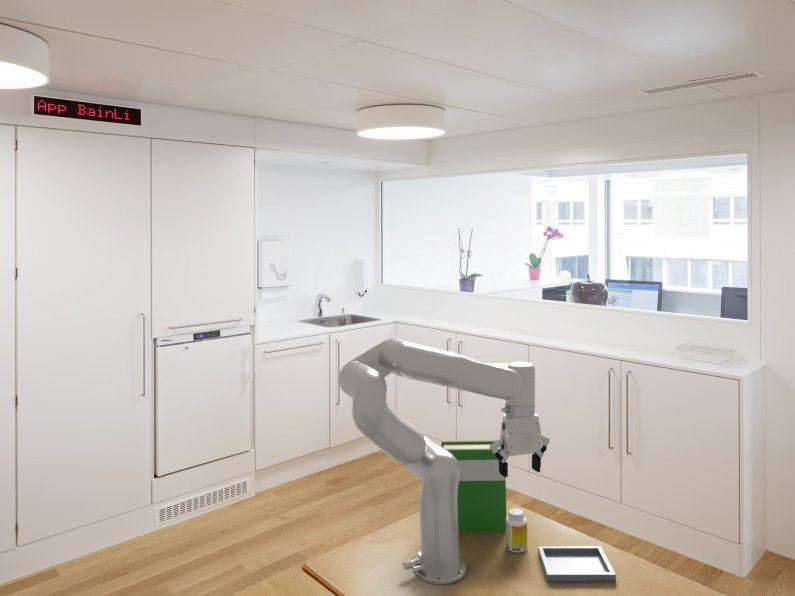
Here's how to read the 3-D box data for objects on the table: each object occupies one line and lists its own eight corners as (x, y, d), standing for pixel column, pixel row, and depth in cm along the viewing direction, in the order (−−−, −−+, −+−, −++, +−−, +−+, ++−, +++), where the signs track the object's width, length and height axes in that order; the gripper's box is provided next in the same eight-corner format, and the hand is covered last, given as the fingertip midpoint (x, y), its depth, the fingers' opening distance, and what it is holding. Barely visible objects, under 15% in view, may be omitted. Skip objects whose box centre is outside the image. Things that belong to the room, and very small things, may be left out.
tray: (547, 582, 142) (547, 574, 142) (538, 553, 155) (538, 546, 154) (615, 582, 141) (615, 574, 141) (600, 553, 154) (600, 546, 153)
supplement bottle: (531, 548, 157) (531, 511, 156) (518, 556, 154) (517, 518, 153) (515, 540, 162) (514, 504, 161) (501, 548, 158) (501, 511, 157)
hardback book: (444, 531, 168) (441, 450, 166) (443, 519, 176) (441, 441, 173) (506, 531, 167) (504, 449, 164) (503, 519, 174) (502, 440, 172)
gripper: (497, 417, 148) (497, 483, 150) (556, 409, 154) (556, 473, 155) (483, 409, 155) (483, 472, 157) (541, 402, 161) (540, 463, 162)
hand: (519, 473), depth 156 cm, fingers open, 9 cm apart
